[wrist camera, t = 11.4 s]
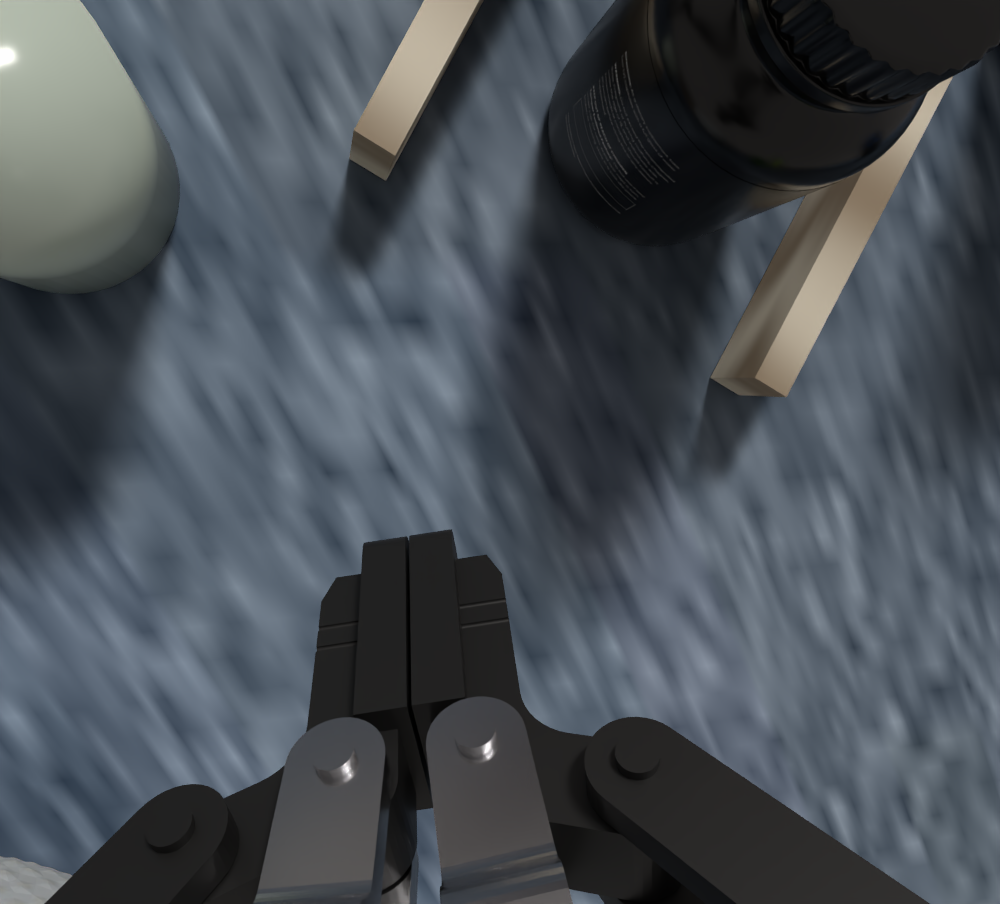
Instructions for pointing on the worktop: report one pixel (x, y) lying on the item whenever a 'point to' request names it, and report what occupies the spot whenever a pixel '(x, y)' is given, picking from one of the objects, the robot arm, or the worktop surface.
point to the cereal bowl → (28, 882)
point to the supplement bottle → (744, 103)
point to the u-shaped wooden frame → (795, 266)
